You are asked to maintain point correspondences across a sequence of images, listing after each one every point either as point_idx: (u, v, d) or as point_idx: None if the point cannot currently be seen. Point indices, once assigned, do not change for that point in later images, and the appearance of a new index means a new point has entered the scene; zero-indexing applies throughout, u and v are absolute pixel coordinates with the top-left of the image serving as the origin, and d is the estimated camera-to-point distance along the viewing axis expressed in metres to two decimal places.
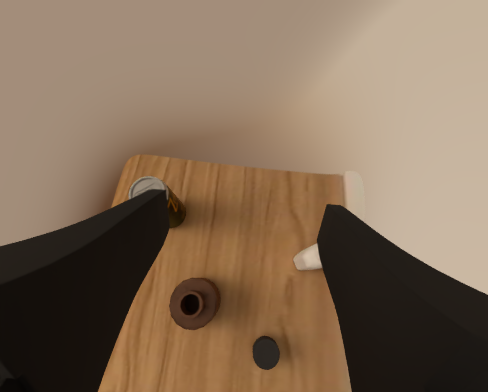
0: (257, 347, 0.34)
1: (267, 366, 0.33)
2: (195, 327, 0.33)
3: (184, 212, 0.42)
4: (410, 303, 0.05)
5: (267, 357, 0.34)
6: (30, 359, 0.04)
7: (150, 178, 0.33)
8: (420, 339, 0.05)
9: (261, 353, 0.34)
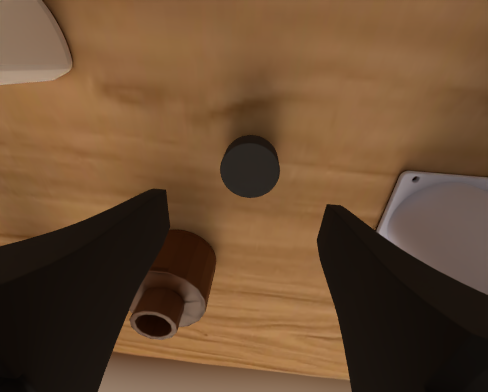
0: (237, 189, 0.16)
1: (274, 170, 0.15)
2: (201, 299, 0.18)
3: None
4: (409, 303, 0.05)
5: (256, 170, 0.15)
6: (30, 359, 0.04)
7: None
8: (420, 339, 0.05)
9: (248, 182, 0.15)
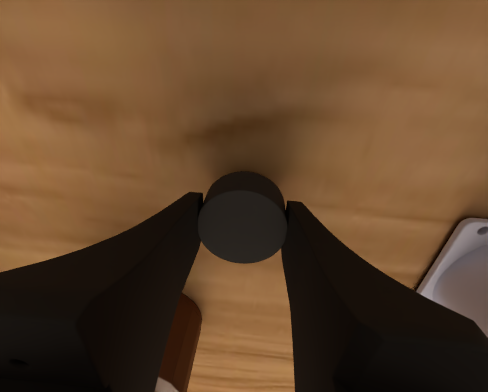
0: (224, 252, 0.10)
1: (280, 228, 0.10)
2: None
3: None
4: (328, 295, 0.05)
5: (251, 227, 0.10)
6: (114, 368, 0.04)
7: None
8: (332, 330, 0.05)
9: (240, 243, 0.10)
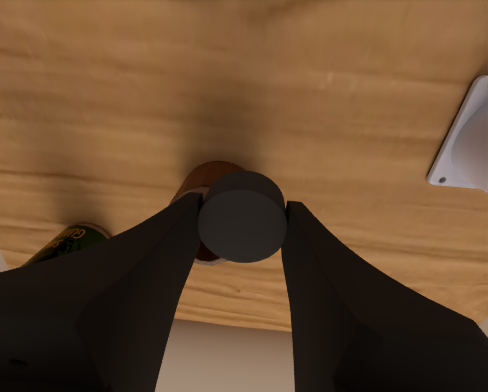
0: (224, 252, 0.10)
1: (280, 227, 0.10)
2: None
3: (72, 231, 0.23)
4: (328, 295, 0.05)
5: (252, 227, 0.10)
6: (114, 368, 0.04)
7: None
8: (332, 330, 0.05)
9: (240, 242, 0.10)
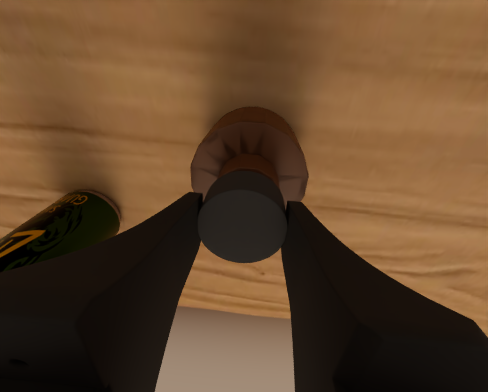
0: (224, 252, 0.10)
1: (280, 227, 0.10)
2: (303, 174, 0.13)
3: (72, 197, 0.19)
4: (328, 295, 0.05)
5: (251, 227, 0.10)
6: (114, 368, 0.04)
7: None
8: (332, 330, 0.05)
9: (240, 242, 0.10)
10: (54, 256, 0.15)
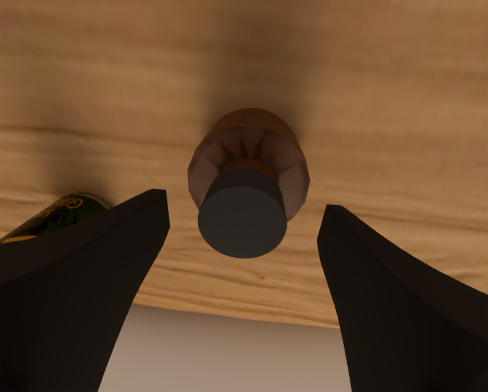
0: (225, 247, 0.11)
1: (279, 223, 0.10)
2: (304, 178, 0.13)
3: (67, 200, 0.19)
4: (409, 303, 0.05)
5: (251, 223, 0.10)
6: (30, 359, 0.04)
7: None
8: (420, 339, 0.05)
9: (240, 238, 0.10)
10: None
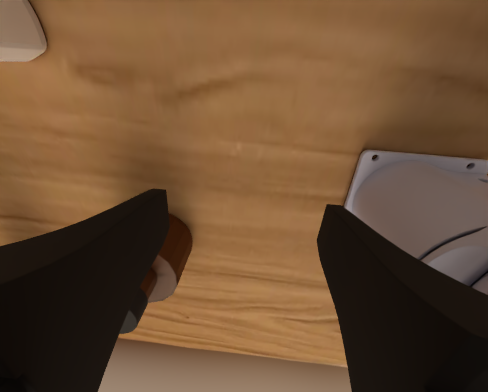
0: None
1: (131, 318, 0.16)
2: (171, 273, 0.19)
3: None
4: (409, 303, 0.05)
5: None
6: (30, 359, 0.04)
7: None
8: (420, 339, 0.05)
9: None
10: None
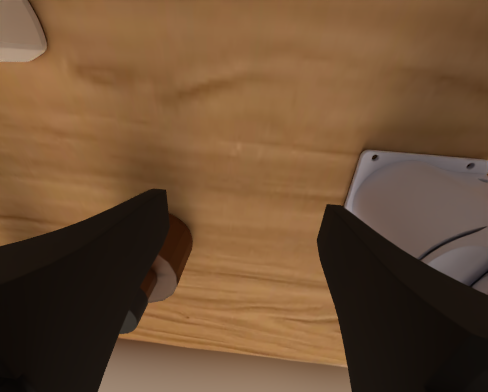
0: None
1: (131, 318, 0.16)
2: (172, 273, 0.19)
3: None
4: (409, 303, 0.05)
5: None
6: (30, 359, 0.04)
7: None
8: (420, 339, 0.05)
9: None
10: None
